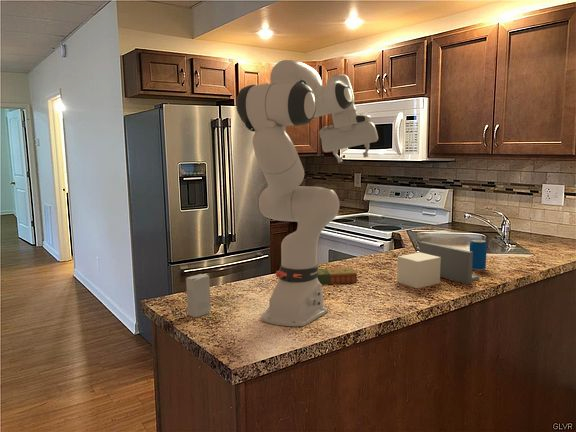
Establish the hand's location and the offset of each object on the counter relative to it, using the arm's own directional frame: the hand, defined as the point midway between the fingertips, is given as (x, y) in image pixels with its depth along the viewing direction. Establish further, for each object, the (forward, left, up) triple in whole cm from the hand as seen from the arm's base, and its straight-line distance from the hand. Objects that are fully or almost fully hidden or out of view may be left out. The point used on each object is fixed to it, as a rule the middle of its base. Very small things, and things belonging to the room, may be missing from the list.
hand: (353, 159), depth 167 cm
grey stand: (+25, -32, -46) cm, 62 cm away
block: (+11, -22, -46) cm, 53 cm away
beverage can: (+39, -42, -46) cm, 74 cm away
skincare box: (-49, +35, -46) cm, 76 cm away
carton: (+2, +8, -47) cm, 47 cm away
